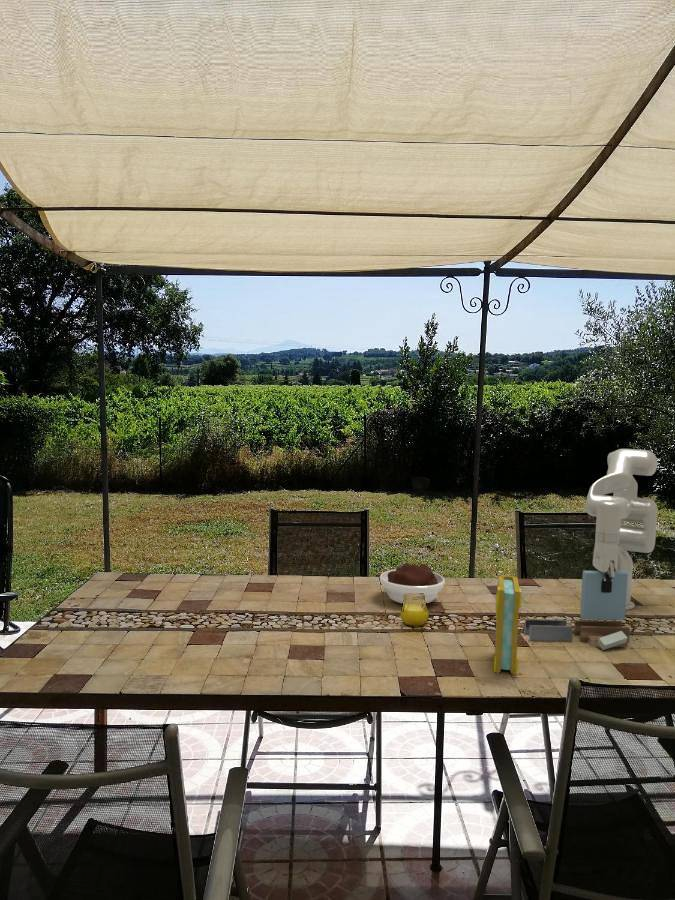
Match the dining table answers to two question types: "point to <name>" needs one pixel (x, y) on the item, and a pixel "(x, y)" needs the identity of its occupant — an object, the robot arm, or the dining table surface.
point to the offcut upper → (612, 640)
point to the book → (507, 623)
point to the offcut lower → (594, 639)
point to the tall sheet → (603, 597)
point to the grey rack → (548, 630)
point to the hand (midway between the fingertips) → (604, 590)
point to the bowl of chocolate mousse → (411, 582)
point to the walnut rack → (598, 628)
